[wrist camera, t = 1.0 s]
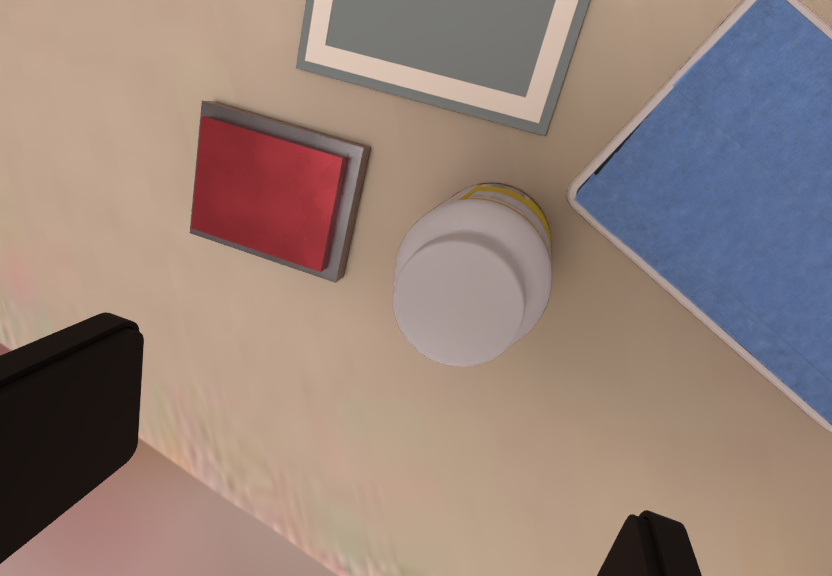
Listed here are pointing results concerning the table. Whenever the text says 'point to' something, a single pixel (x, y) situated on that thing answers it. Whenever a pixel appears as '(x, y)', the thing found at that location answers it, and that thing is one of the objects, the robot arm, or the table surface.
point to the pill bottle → (473, 275)
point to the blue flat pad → (736, 193)
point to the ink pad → (277, 189)
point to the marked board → (449, 52)
